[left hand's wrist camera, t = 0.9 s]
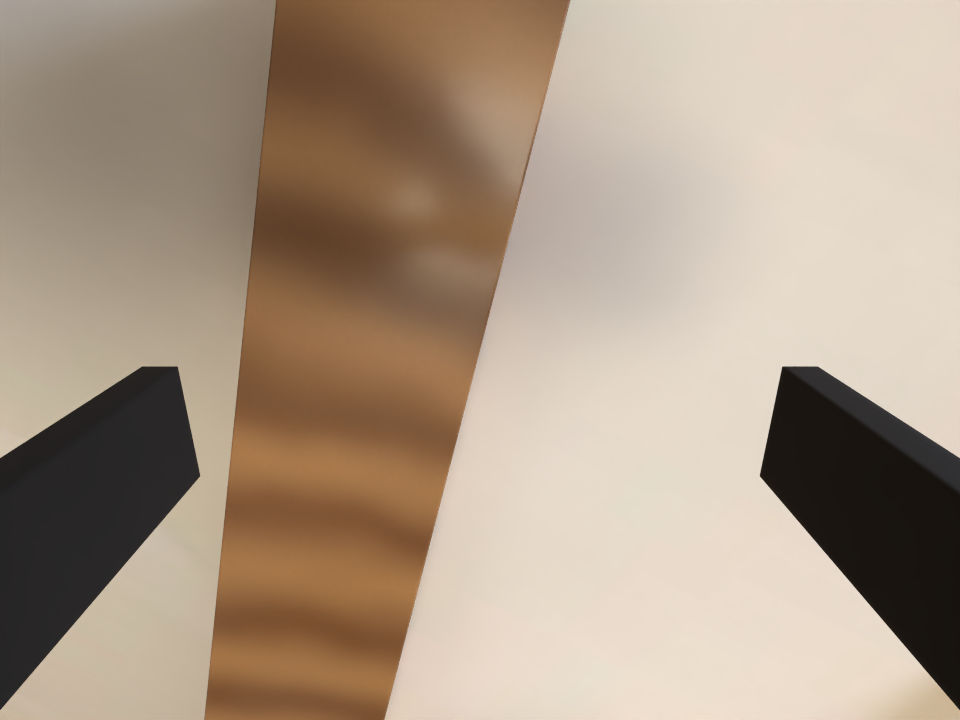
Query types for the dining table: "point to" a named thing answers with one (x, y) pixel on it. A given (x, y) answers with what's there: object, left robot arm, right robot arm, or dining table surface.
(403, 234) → the long wooden beam
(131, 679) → the dining table surface
